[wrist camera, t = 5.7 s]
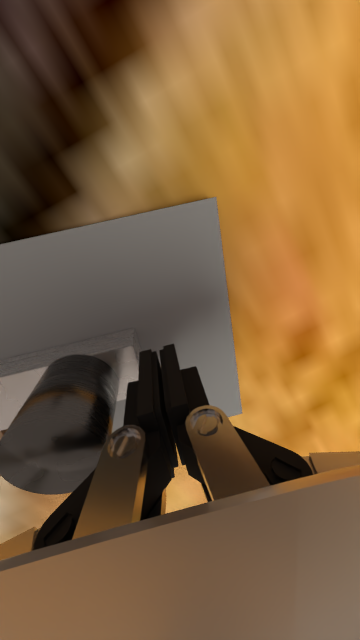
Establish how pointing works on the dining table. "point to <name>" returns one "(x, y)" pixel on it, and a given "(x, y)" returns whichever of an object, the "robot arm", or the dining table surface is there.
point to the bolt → (62, 409)
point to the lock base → (127, 292)
